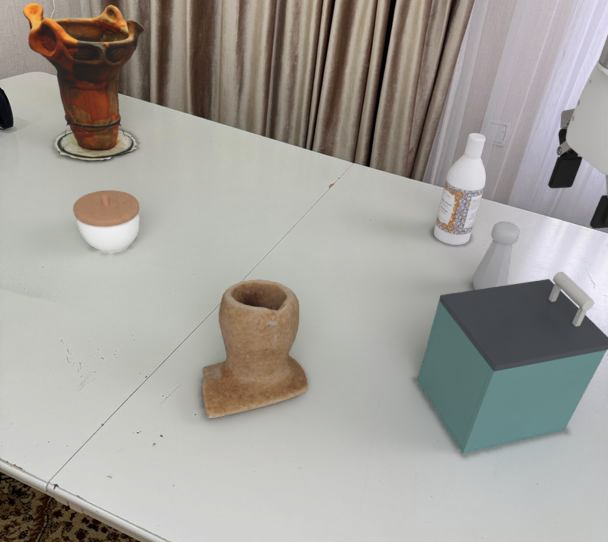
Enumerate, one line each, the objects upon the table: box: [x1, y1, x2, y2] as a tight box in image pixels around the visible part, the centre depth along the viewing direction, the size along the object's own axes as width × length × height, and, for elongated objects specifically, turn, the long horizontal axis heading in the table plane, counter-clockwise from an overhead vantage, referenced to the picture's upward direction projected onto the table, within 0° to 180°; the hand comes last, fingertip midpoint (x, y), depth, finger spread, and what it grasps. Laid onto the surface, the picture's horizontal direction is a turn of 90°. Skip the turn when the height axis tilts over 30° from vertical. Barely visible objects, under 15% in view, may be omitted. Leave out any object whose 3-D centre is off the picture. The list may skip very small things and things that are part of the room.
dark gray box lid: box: [438, 271, 608, 371], centre depth 75 cm, size 16×14×5 cm
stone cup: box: [201, 279, 309, 419], centre depth 81 cm, size 15×12×15 cm
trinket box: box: [72, 189, 141, 254], centre depth 107 cm, size 11×11×9 cm
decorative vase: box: [22, 2, 145, 161], centre depth 130 cm, size 21×23×28 cm
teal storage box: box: [417, 299, 608, 454], centre depth 82 cm, size 16×14×15 cm
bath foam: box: [433, 132, 487, 246], centre depth 113 cm, size 7×7×20 cm
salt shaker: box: [471, 221, 521, 290], centre depth 103 cm, size 6×6×13 cm
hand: (579, 205), depth 76 cm, fingers open, 9 cm apart
